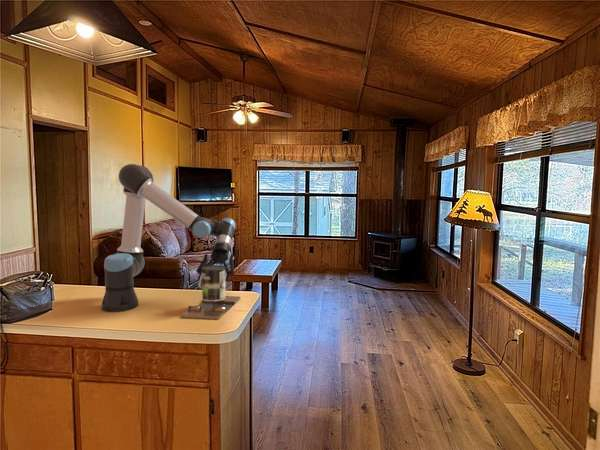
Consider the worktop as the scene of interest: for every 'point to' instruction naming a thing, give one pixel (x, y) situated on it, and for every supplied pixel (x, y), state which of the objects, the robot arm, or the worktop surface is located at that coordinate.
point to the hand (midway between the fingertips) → (211, 287)
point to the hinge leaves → (211, 308)
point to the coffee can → (213, 283)
